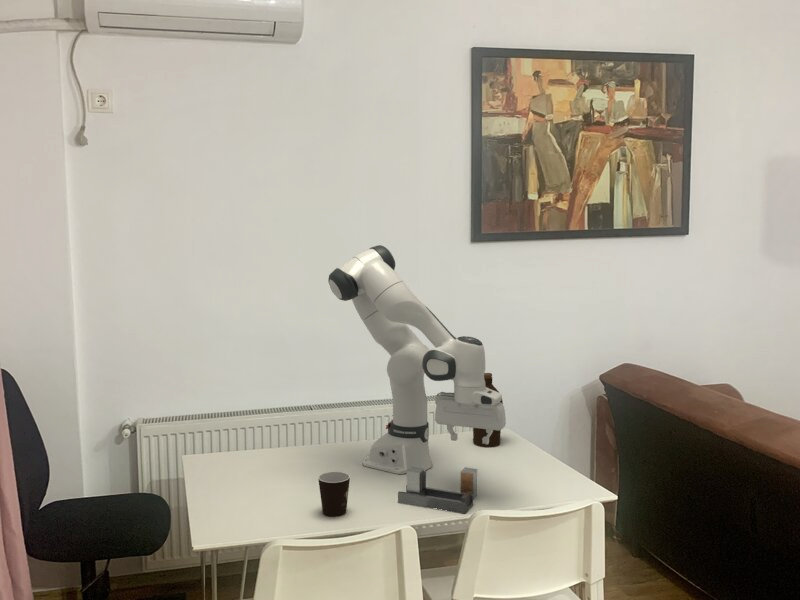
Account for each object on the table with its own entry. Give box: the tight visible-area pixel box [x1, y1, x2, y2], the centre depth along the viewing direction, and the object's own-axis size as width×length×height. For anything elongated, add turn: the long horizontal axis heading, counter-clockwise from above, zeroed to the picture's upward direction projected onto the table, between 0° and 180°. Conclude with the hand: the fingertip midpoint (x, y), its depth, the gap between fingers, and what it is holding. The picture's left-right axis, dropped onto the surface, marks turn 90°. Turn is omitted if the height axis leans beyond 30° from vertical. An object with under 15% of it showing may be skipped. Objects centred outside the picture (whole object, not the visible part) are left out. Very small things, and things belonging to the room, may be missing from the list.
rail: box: [397, 467, 474, 515], centre depth 215 cm, size 20×7×9 cm, turn 67°
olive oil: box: [472, 372, 504, 448], centre depth 269 cm, size 11×11×25 cm
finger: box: [459, 467, 478, 501], centre depth 220 cm, size 4×4×8 cm
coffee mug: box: [317, 471, 351, 518], centre depth 210 cm, size 12×9×10 cm
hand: (469, 441), depth 218 cm, fingers open, 8 cm apart
